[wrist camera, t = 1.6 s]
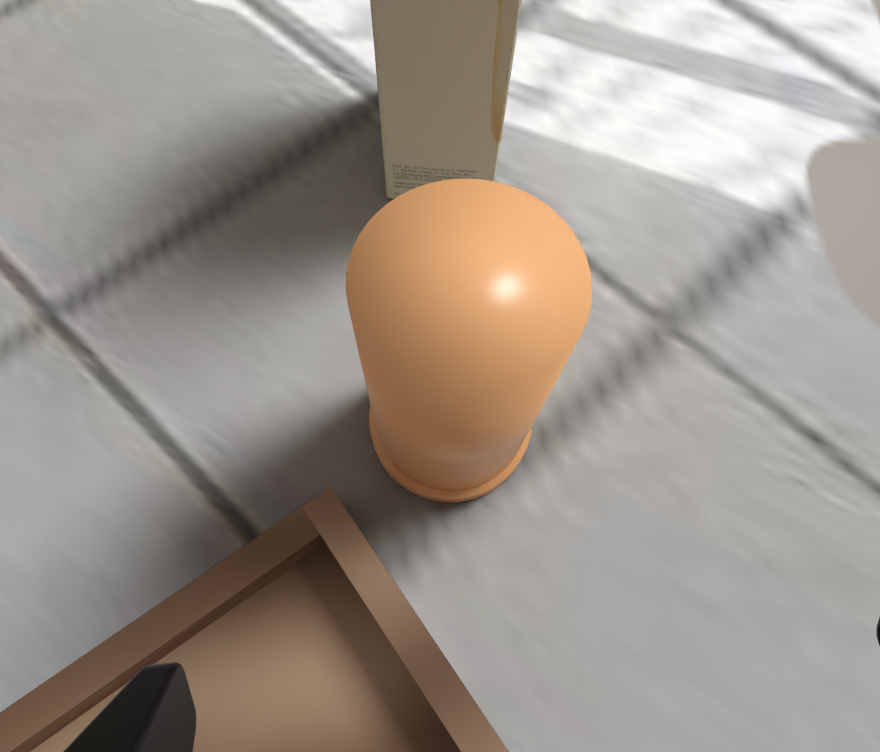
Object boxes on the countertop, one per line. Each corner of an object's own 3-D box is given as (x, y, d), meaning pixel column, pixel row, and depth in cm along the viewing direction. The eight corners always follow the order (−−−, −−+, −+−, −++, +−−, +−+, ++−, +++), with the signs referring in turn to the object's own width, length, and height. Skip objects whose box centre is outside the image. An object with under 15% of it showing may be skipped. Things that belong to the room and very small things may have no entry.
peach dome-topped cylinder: (559, 441, 22) (656, 307, 13) (431, 536, 21) (440, 461, 12) (465, 326, 24) (493, 132, 15) (340, 407, 23) (285, 251, 13)
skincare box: (493, 209, 26) (549, -122, 15) (383, 202, 26) (353, -134, 14) (497, 84, 28) (548, -285, 17) (396, 78, 28) (379, -296, 17)
